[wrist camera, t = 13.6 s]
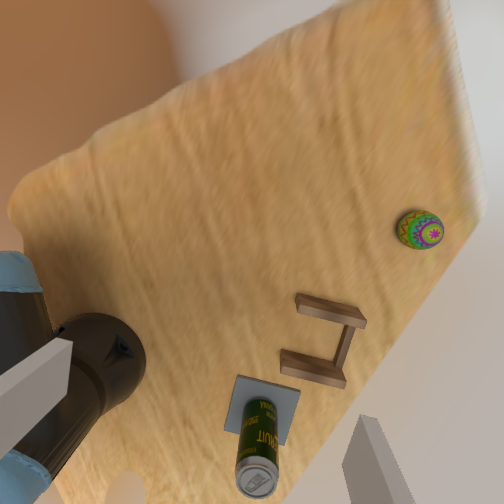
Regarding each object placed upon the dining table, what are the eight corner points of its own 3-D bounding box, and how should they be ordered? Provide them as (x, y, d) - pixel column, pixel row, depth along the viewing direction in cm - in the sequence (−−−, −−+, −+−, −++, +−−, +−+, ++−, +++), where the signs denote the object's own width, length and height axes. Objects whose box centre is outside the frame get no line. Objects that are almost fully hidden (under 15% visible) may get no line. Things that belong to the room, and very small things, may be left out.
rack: (279, 355, 46) (280, 373, 42) (297, 293, 44) (300, 304, 40) (337, 370, 46) (344, 389, 42) (357, 307, 44) (367, 321, 40)
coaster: (224, 427, 50) (223, 430, 49) (237, 374, 48) (237, 376, 47) (284, 442, 49) (284, 445, 49) (300, 390, 47) (300, 392, 47)
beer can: (262, 431, 49) (259, 508, 37) (236, 411, 48) (224, 483, 36) (284, 409, 48) (288, 481, 36) (258, 389, 47) (253, 455, 35)
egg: (418, 202, 41) (443, 204, 35) (436, 232, 41) (464, 239, 35) (385, 223, 41) (404, 229, 36) (404, 252, 42) (425, 262, 36)
